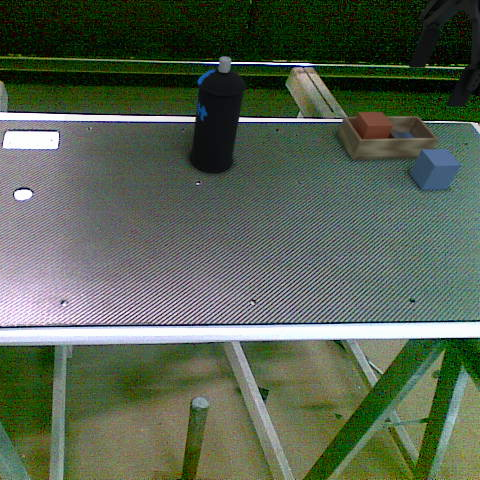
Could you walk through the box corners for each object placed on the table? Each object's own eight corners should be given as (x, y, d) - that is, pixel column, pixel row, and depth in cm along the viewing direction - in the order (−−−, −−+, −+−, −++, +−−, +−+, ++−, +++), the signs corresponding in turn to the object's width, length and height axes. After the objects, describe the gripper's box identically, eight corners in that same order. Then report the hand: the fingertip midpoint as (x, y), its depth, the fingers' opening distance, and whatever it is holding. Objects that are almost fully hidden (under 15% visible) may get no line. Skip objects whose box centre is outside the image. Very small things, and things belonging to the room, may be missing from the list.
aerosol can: (235, 152, 93) (254, 52, 79) (228, 177, 88) (247, 73, 73) (195, 145, 95) (205, 45, 80) (185, 168, 89) (195, 65, 75)
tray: (409, 134, 101) (418, 115, 97) (429, 158, 95) (439, 139, 91) (337, 135, 99) (343, 116, 96) (352, 159, 93) (360, 140, 90)
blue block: (433, 172, 91) (447, 148, 87) (447, 189, 88) (461, 165, 84) (409, 173, 91) (421, 149, 87) (421, 190, 87) (435, 165, 83)
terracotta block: (372, 135, 98) (382, 111, 94) (382, 149, 94) (393, 125, 90) (349, 136, 97) (358, 112, 93) (358, 150, 94) (368, 125, 90)
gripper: (434, -80, 74) (384, 53, 89) (534, -31, 57) (450, 124, 72) (479, -79, 75) (421, 53, 90) (592, -30, 57) (497, 124, 73)
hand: (434, 85), depth 81 cm, fingers open, 13 cm apart
